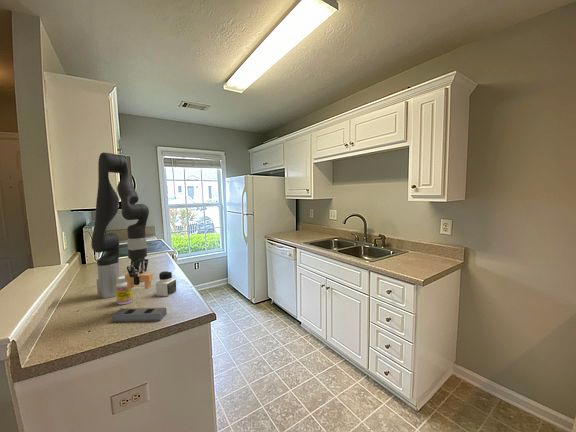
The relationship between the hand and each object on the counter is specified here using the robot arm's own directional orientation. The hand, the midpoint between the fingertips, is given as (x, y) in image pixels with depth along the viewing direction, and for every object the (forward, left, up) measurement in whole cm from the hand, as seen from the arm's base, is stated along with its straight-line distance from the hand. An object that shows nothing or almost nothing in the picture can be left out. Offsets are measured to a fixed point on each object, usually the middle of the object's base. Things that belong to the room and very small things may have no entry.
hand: (139, 283), depth 116 cm
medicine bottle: (+4, +17, -12) cm, 21 cm away
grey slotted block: (+5, -10, -12) cm, 16 cm away
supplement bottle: (-12, +7, -12) cm, 18 cm away
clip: (0, 0, -2) cm, 2 cm away
